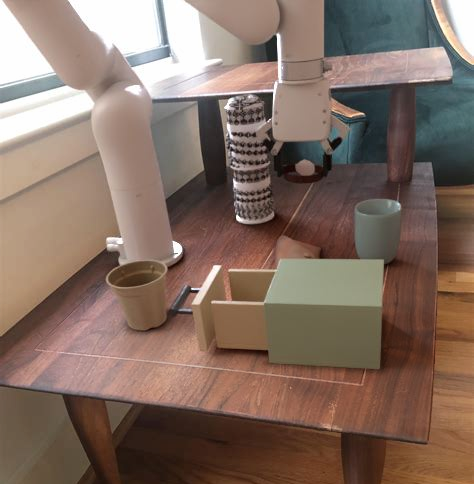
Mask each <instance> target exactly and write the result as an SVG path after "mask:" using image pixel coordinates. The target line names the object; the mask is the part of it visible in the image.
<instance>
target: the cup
mask: <svg viewBox="0 0 474 484" xmlns="http://www.w3.org/2000/svg"><path fill="white" fill-rule="evenodd" d="M402 213H403V207H402V205H401V203H400V202H399V201H397V200H394V199H388V198H370V199H366V200H362V201H359V202H358V203H357V204H356V205H355V206H354V210H353V219H354V220H353V235H354V237H353V238H354V244H355V245H354V247H355V252H356V255H357V257H358V259H377V260H384V266H385V265H388V264H390V263H392V261H394V259H395V258H396V256H397V254H398V251H399V248H400V243H401V235H402V233H401V232H402V219H403V218H402V217H403V214H402Z"/></svg>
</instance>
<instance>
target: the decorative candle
mask: <svg viewBox="0 0 474 484" xmlns="http://www.w3.org/2000/svg"><path fill="white" fill-rule="evenodd" d="M264 105H265V102H264V101H263V100H261V98H260V97H259V96H258V95H256V94H241V95H235V96H232V97H231V98H229V99H228V101H227V104H226V105H225V106H224V107H223V109H224V110H225V111H226V120H227V121H226V129H227V134H226V135H225V136H224V138H225V141H226V146H225V147H226V149H227V150H228V153H227V156H228V162H229V163H228V165H229V166H230V168H231V169H232V173H233V174H232V175H233V180H232V181H233V187H232V192H233V193H234V194H233V199H234V200H235V201H234V204H233V205H234V208H235V210H234V211H235V212H234V213H235V215H236V221H238V223H240V224H244V225H258V224H262V223H266V222H268V221H270V220H273V218H274V217H275V212H274V211H275V207H274V202H275V201H274V197H272V196H274V192H273V190H272V188H273V183H272V182H271V176H270V174H269V173H270V171H269V165H270V164H271V157H269V156H268V155H269V153H271V151H270V150H268V149H267V148H266V147H265V146H264V145H263V142H262V141H261V140H260V139H259V137H258V136H257V135H256V131H257V130H258V129H259V128H260V127H261V126H262V125H264V124H265V123H266V122H267V121H266V117H265V107H264ZM266 133H267V135H268V136H269V135H270V134H271V132H270V129H269V130H268V131H267V132H266Z"/></svg>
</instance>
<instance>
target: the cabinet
mask: <svg viewBox="0 0 474 484" xmlns="http://www.w3.org/2000/svg"><path fill="white" fill-rule="evenodd" d="M384 267H385V265H384V260H377V259H359V258H357V259H356V258H353V259H352V258H320V259H280V262H279V264H278V267H277V270H276V272H275V275H274V278H273V280H272V283H271V285H270V288H269V291H268V293H267V296H266V299H265V301H264V311H265V322H266V332H267V342H268V350H267V351H268V352H267V353H268V360H269V364H280V365H294V366H295V365H296V366H311V367H312V366H313V367H329V368H330V367H331V368H347V369H367V370H381V355H382V353H381V352H382V328H383V325H382V324H383V301H384V300H383V299H384V298H383V297H384V275H385V274H384V271H385V269H384Z"/></svg>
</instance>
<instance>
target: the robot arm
mask: <svg viewBox="0 0 474 484" xmlns="http://www.w3.org/2000/svg"><path fill="white" fill-rule="evenodd" d="M1 1H2V3H3V4H4V5H5V6H6V8H7V9H8V10H9V12H10V13H11V14H12V16H13V17H14V18H15V20H16V21H17V23H18V24H19V25H20V26H21V27H22V29H23V30H24V32H25V34H26V35H27V37H28V38H29V39H30V40H31V42H32V43H33V45H34V46H35V47H36V49H37V50H38V51H39V53H40V54H41V55H42V57H44V59H45V61H46V62H47V63H48V64H49V66H50V67H51V68H52V70H53V72H54V73H55V74H56V76H57V77H58V78H59V80H60V81H61V82H62V83H63V84H65V85H66V86H67V87H69V88H70V89H73V90H78V91H85V92H86V94H87V95H88V97H89V98H90V99H91V100H92V102H93V103H94V104H93V107H92V108H91V109H92V110H91V115H90V116H91V117H90V123H91V129H92V130H91V131H92V133H93V137H94V140H95V143H96V146H97V149H98V152H99V155H100V158H101V162H102V164H103V169H104V172H105V176H106V181H107V184H108V188H109V191H110V192H109V193H110V196H111V200H112V204H113V209H114V213H115V216H116V221H117V226H118V230H119V234H120V237H107V238H106V240H105V245H106V251H107V252H111V253H112V252H118V253H119V256H118V259H117V260H118V264H119V266H120V265H123V264H126V263H129V262H133V261H138V260H157V261H161V262H163V263H165V264H166V266H167V268H169V267H171V266H173V265H175V264H176V263H178V262H179V261H180V260H181V259H182V257H183V255H184V250H183V247H182V245H181V244H180V243H178V242H176V241H174V239H173V234H172V229H171V224H170V223H171V222H170V219H169V218H170V217H169V213H168V207H167V202H166V197H165V191H164V185H163V181H162V180H163V179H162V177H161V171H160V166H159V161H158V156H157V152H156V148H155V144H154V143H155V142H154V140H153V133H152V129H151V123H152V119H153V115H154V104H153V99H152V96H151V95H150V93H149V91H148V89H147V88H146V86H145V85H144V83H143V82H142V80H141V79H140V77H139V76H138V74H137V73H136V71H135V70H134V68H133V67H132V66H131V64H130V63H129V61H128V60H127V58H126V57H125V56H124V54H123V53H122V51H121V49H119V46H118V45H117V44H116V42H115V41H114V40H113V39H112V38H111V36H110V35H109V34H108V32H106V31H105V30H104V29H103V28H101V27H100V26H97V25H95V24H93V23H90V22H86V20H85V19H84V18H83V17H82V16H81V14H80V13H79V12H78V10H77V9H76V7H75V6H74V5H73V4H72V2H71V1H70V0H1ZM182 1H183V2H185V3H186V4H188V5H189V6H191V7H192V8H193V9H195V11H198V12H199V13H201V14H202V15H203V16H205V17H206V18H208V19H209V20H210V21H212V22H213V23H215V24H216V25H217V26H219V27H220V28H222V29H224V30H225V31H226V32H228V33H229V34H230V35H232V36H233V37H235V38H236V39H238V41H241V42H242V43H244V44H246V45H250V46H259V45H262V44H263V45H264V44H265V43H267V42H268V41H270V40H271V39H272V38H273V37H274V36H276V38H277V41H276V42H277V62H278V63H277V64H278V66H277V67H278V68H277V69H278V79H275V82H274V88H273V97H272V98H273V99H272V117H271V118H269V119H268V120H267V121H266V123H265V124H264V125H262V126H261V127H260V128H259V129H258V130H257V131H256V135H257V136H258V137H259V139H260V140H261V141H262V142H263V145H264V146H265V147H266V148H267V149H268V150H270V153H271V155H272V157H273V171H274V172H276V176H277V178H282V176H283V171H282V170H283V167H284V166H285V165H284V163H285V162H284V161H285V160H284V151H283V150H282V146H283V145H284V143H307V142H319V144H320V146H321V147H322V149H323V150H324V151H323V154H322V167H323V178H326V177H328V174H329V172H331V171H333V152H334V151H335V150H336V149H337V148H339V146H340V145H341V144H342V143H343V141H344V140H345V139H346V138H347V136H348V135H349V133H350V131H351V128H350V126H349V125H348V124H346V123H345V122H343V121H342V120H341V119H339V118H337V116H335V115H333V105H332V104H333V103H332V91H331V84H330V79H329V77H328V76H325V74H326V73H328V72H329V71H333V69H334V68H333V67H334V62H333V61H329V60H326V59H325V0H182ZM333 128H334V129H337V131H338V132H339V133H338V134H337V136H336V137H334V139H333V140H331V139H330V134H331V133H332V130H333ZM270 129H272V137H273V139H274V140H275V141H274V140H273V139H272V138H270V137H269V135H267V133H266V132H267V131H268V130H269V131H270Z"/></svg>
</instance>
